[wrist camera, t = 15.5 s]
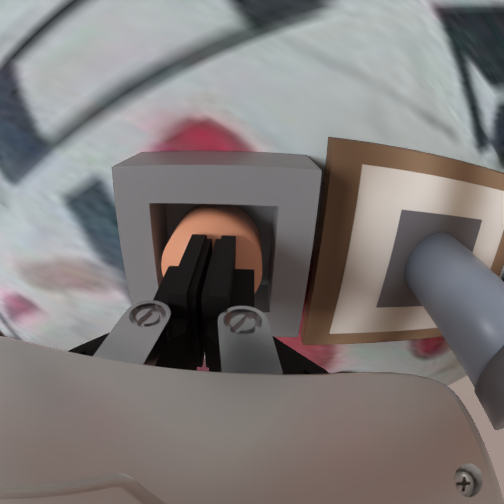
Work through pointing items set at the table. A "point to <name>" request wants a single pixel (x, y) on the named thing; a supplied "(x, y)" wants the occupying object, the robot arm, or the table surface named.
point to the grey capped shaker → (464, 312)
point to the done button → (218, 236)
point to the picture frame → (391, 237)
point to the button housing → (222, 192)
